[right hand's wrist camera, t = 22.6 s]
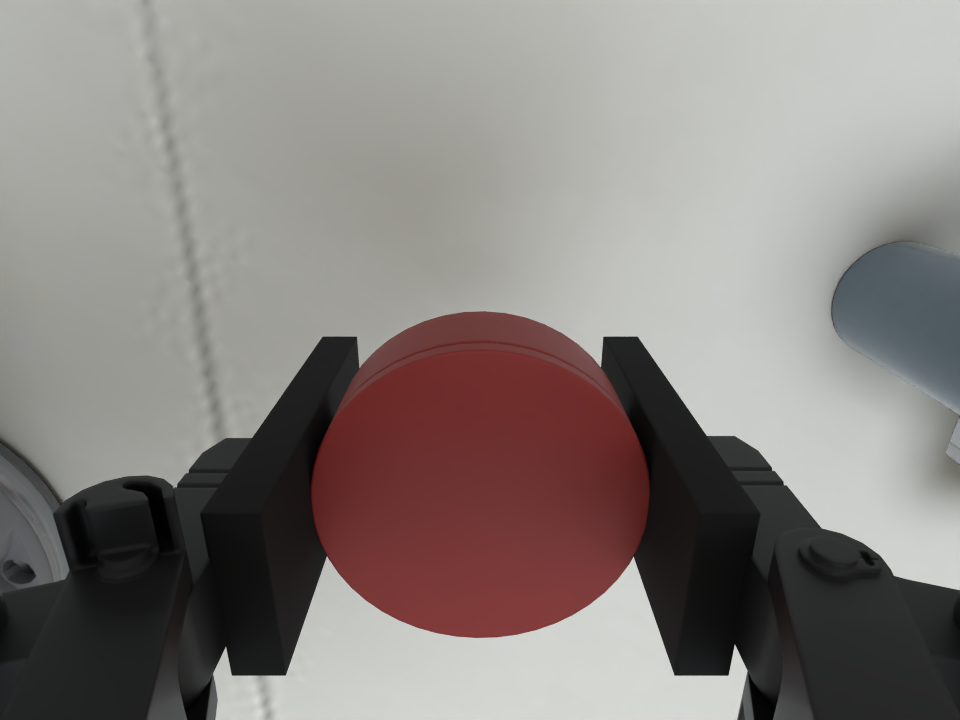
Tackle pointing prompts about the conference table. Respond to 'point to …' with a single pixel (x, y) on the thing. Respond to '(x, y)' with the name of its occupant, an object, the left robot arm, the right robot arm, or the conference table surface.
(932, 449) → the conference table surface
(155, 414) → the conference table surface
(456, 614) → the lid
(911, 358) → the blue-grey tall cylinder
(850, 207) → the conference table surface
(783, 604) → the right robot arm
